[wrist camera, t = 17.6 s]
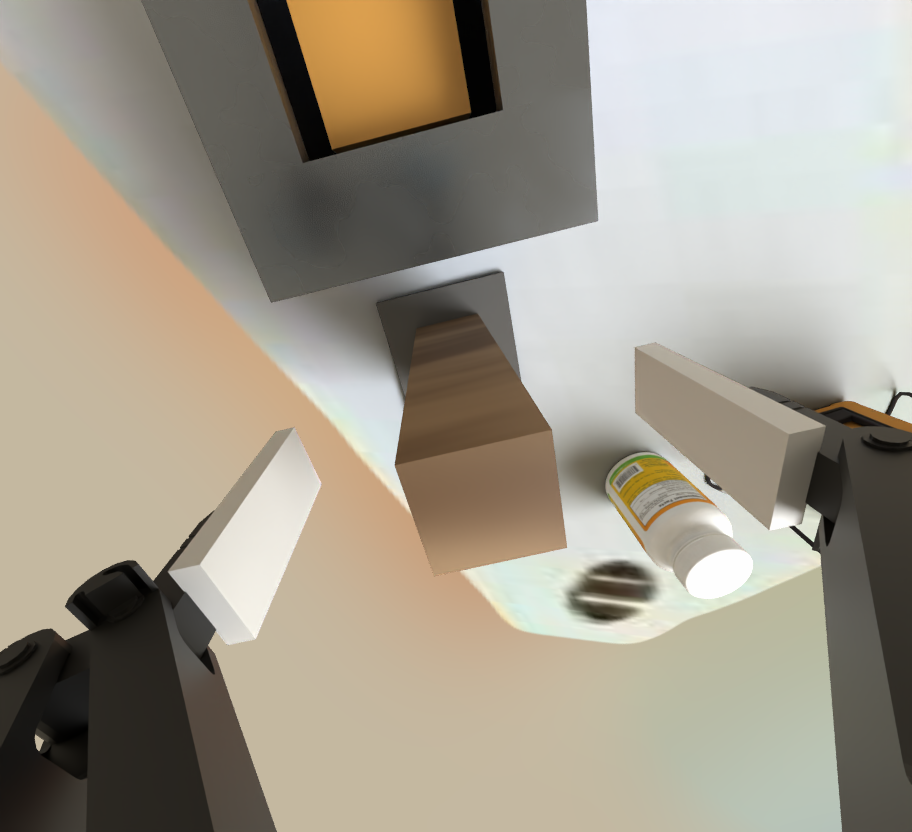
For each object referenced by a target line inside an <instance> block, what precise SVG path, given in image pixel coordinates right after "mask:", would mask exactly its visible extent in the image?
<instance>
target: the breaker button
mask: <svg viewBox="0 0 912 832" xmlns="http://www.w3.org/2000/svg"><path fill="white" fill-rule="evenodd" d="M286 1H287V4H288V7H289V11H290V14H291V17H292V20H293V24H294V27H295V30H296V33H297V37H298V40H299V43H300V46H301V50H302V53H303V56H304V59H305V63H306V66H307V69H308V73H309V76H310V79H311V82H312V86H313V89H314V92H315V95H316V99H317V102H318V105H319V108H320V112H321V115H322V118H323V121H324V125H325V128H326V131H327V134H328V138H329V141H330V144H331V147H332V150H333V151H334V152H336V153H337V154H339V153H343V152H347V151H351V150H354V149H358V148H362V147H366V146H369V145H373V144H377V143H381V142H385V141H388V140H392V139H396V138H400V137H403V136H407V135H411V134H415V133H419V132H422V131H426V130H430V129H434V128H437V127H441V126H445V125H449V124H453V123H456V122H460V121H464V120H468V119H469V118H470V115H471V108H470V102H469V96H468V90H467V84H466V78H465V72H464V66H463V60H462V54H461V48H460V42H459V36H458V30H457V24H456V18H455V12H454V6H453V0H286Z"/></svg>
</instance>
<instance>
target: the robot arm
mask: <svg viewBox="0 0 912 832" xmlns="http://www.w3.org/2000/svg"><path fill="white" fill-rule="evenodd" d="M635 413H636V414H638V415H639V416H640V417H641V418H642V419H643V420H644V421H645V422H647V423H648V424H649V425H650V426H651V427H652V428H653V429H655V430H656V431H657V432H658V433H659V434H660V435H661V436H663V437H664V438H665V439H666V440H667V441H668V442H669V443H671V444H672V445H673V446H674V447H675V448H676V449H677V450H679V451H680V452H681V453H682V454H683V455H684V456H685V457H687V458H688V459H689V460H690V461H691V462H692V463H693V464H695V465H696V466H697V467H698V468H699V469H700V470H701V471H702V472H704V473H705V474H706V475H707V476H708V477H709V478H710V479H712V480H713V481H714V482H715V483H716V484H717V485H718V486H720V487H721V488H722V489H723V490H724V491H725V492H726V493H728V494H729V495H730V496H731V497H732V498H733V499H734V500H736V501H737V502H738V503H739V504H740V505H741V506H742V507H744V508H745V509H746V510H747V511H748V512H749V513H750V514H752V515H753V516H754V517H755V518H756V519H757V520H758V521H759V522H761V523H762V524H763V525H764V526H765V527H766V528H767V529H769V530H774V529H779V528H784V527H789V526H793V525H798V524H802V520H803V516H804V512H805V508H806V504H808V505H809V506H811V507H812V508H814V509H815V510H816V511H818V512H819V513H821V514H822V515H821V519H820V523H819V526H818V530H817V533H816V537H815V541H814V544H813V548H812V550H814V551H819V549H820V553H821V566H822V577H823V578H822V579H823V592H824V604H825V617H826V630H827V642H828V654H829V668H830V681H831V693H832V707H833V719H834V732H835V745H836V758H837V771H838V783H839V796H840V809H841V820H842V821H841V822H842V832H912V433H911V432H908V431H904V430H901V429H895V428H888V427H878V426H864V427H858V428H853V429H852V428H850V427H848V426H846V425H843V424H841V423H839V422H837V421H835V420H833V419H831V418H828V417H826V416H824V415H822V414H820V413H818V412H815V411H813V410H811V409H809V408H804V406H803V405H800V404H798V403H796V402H794V401H792V402H791V401H790V399H788V398H785V397H783V396H781V395H779V394H777V393H775V392H772V391H767V390H763V389H759V388H755V387H749V388H747V387H745V386H743V385H741V384H739V383H737V382H735V381H733V380H731V379H729V378H727V377H725V376H723V375H721V374H719V373H717V372H715V371H713V370H711V369H709V368H707V367H704V366H702V365H700V364H698V363H696V362H694V361H692V360H690V359H688V358H686V357H684V356H682V355H680V354H678V353H676V352H674V351H672V350H670V349H668V348H666V347H664V346H662V345H660V344H657V343H651V344H647V345H643V346H638V347H635ZM321 485H322V484H321V482H320V480H319V478H318V475H317V473H316V471H315V470H314V467H313V465H312V463H311V461H310V459H309V457H308V454H307V452H306V450H305V448H304V446H303V444H302V442H301V440H300V438H299V436H298V434H297V431H296V429H295V428H294V427H293V428H289V429H285V430H281V431H276V432H275V433H274V434H273V436H272V437H271V438H270V440H269V441H268V442H267V443H266V445H265V446H264V447H263V449H262V450H261V451H260V452H259V454H258V455H257V456H256V458H255V459H254V460H253V462H252V463H251V464H250V465H249V467H248V468H247V469H246V471H245V472H244V473H243V474H242V476H241V477H240V478H239V480H238V481H237V482H236V484H235V485H234V486H233V487H232V489H231V490H230V491H229V493H228V494H227V495H226V497H225V498H224V499H223V500H222V502H221V503H220V504H219V506H218V507H217V508H216V510H214V511H213V512H212V513H210V514H209V515H208V516H207V517H206V518H205V519H203V520H202V521H201V522H200V523H199V524H198V525H197V527H196V528H195V529H194V530H193V532H192V533H191V534H190V535H189V538H188V539H186V540H185V542H184V543H183V544H182V545H181V547H180V550H177V552H176V553H175V554H174V555H173V557H172V558H171V559H170V561H169V562H168V563H167V564H166V566H165V567H164V568H163V569H162V571H161V572H160V573H159V575H158V576H157V577H156V578H155V580H154V581H152V580H151V578H150V577H149V576H148V575H147V574H146V572H145V571H144V570H143V569H142V568H141V567H140V566H139V564H138V563H137V562H136V561H130V560H127V561H124V562H121V563H117V564H115V565H112V566H110V567H108V568H106V569H104V570H102V571H101V572H99V573H98V574H96V575H94V576H93V577H91V578H90V579H89V580H87V581H86V582H85V583H84V584H82V585H81V586H80V587H79V588H78V589H77V590H76V591H75V592H74V593H73V594H72V595H71V596H70V597H69V599H68V601H67V603H66V605H65V607H66V608H67V609H68V610H69V611H70V612H71V613H72V614H73V615H74V616H75V617H76V618H77V619H78V620H80V621H81V622H82V623H83V624H84V625H85V626H86V627H87V628H88V629H89V630H88V631H86V632H83V633H81V634H79V635H77V636H74V637H72V638H70V639H68V640H64V639H63V638H62V637H61V636H60V635H58V634H57V633H56V632H55V631H54V630H53V629H43V630H40V631H37V632H35V633H32V634H30V635H28V636H26V637H25V638H23V639H21V640H19V641H16V642H14V643H13V644H11V645H10V646H8V648H7V649H6V648H5V649H4V650H3V651H1V652H0V832H277V831H276V828H275V825H274V822H273V820H272V817H271V814H270V811H269V808H268V805H267V803H266V799H265V796H264V794H263V791H262V788H261V785H260V782H259V779H258V776H257V773H256V771H255V768H254V765H253V762H252V759H251V756H250V754H249V751H248V748H247V745H246V742H245V739H244V736H243V733H242V730H241V727H240V725H239V722H238V719H237V716H236V713H235V710H234V707H233V705H232V702H231V699H230V696H229V693H228V690H227V687H226V684H225V682H224V679H223V676H222V673H221V670H220V667H219V664H218V661H217V658H216V656H215V654H214V652H213V651H212V650H211V649H210V648H209V646H208V644H209V642H210V640H211V638H212V637H213V635H214V633H215V631H216V632H217V633H218V634H219V635H220V637H221V638H222V639H223V640H224V642H225V643H226V644H227V645H230V644H235V643H240V642H244V641H249V640H254V639H256V637H257V635H258V632H259V630H260V628H261V625H262V623H263V621H264V618H265V616H266V613H267V611H268V609H269V606H270V604H271V602H272V599H273V597H274V594H275V592H276V590H277V588H278V585H279V583H280V580H281V578H282V576H283V574H284V571H285V569H286V567H287V564H288V562H289V560H290V557H291V555H292V552H293V550H294V548H295V545H296V543H297V541H298V538H299V536H300V533H301V531H302V529H303V527H304V524H305V522H306V520H307V517H308V515H309V512H310V510H311V508H312V506H313V503H314V501H315V499H316V496H317V494H318V491H319V489H320V487H321ZM35 734H36V735H37V736H39V737H40V738H41V739H43V740H44V742H43V744H42V747H41V749H40V751H38V750H37V749H36V744H35Z"/></svg>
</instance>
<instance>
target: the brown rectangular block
mask: <svg viewBox="0 0 912 832" xmlns="http://www.w3.org/2000/svg"><path fill="white" fill-rule="evenodd" d="M395 468H396V471H397V473H398V476H399V479H400V482H401V485H402V487H403V490H404V493H405V496H406V499H407V502H408V504H409V507H410V510H411V513H412V516H413V518H414V521H415V524H416V527H417V530H418V533H419V535H420V538H421V541H422V544H423V547H424V549H425V552H426V555H427V558H428V561H429V564H430V566H431V569H432V572H433V575H434V576H438V575H442V574H447V573H452V572H456V571H461V570H466V569H470V568H475V567H480V566H484V565H489V564H494V563H498V562H503V561H508V560H512V559H517V558H521V557H526V556H531V555H535V554H540V553H545V552H549V551H554V550H559V549H563V548H567V543H566V535H565V528H564V520H563V512H562V505H561V497H560V489H559V482H558V474H557V466H556V459H555V451H554V444H553V436H552V429H551V428H550V426H549V425H548V423H547V421H546V420H545V418H544V417H543V415H542V414H541V412H540V410H539V409H538V407H537V406H536V404H535V403H534V401H533V399H532V398H531V396H530V395H529V393H528V392H527V390H526V388H525V387H524V385H523V384H522V382H521V381H520V379H519V377H518V376H517V374H516V373H515V371H514V370H513V368H512V366H511V365H510V363H509V362H508V360H507V359H506V357H505V355H504V354H503V352H502V351H501V349H500V347H499V346H498V344H497V343H496V341H495V340H494V338H493V336H492V335H491V333H490V332H489V330H488V329H487V327H486V325H485V324H484V322H483V321H482V319H481V318H480V316H479V314H474V315H470V316H466V317H462V318H457V319H453V320H449V321H445V322H441V323H437V324H433V325H429V326H424V327H420V328H416V334H415V341H414V347H413V353H412V360H411V366H410V372H409V378H408V385H407V391H406V397H405V404H404V410H403V416H402V423H401V429H400V435H399V441H398V448H397V454H396V460H395Z"/></svg>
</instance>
